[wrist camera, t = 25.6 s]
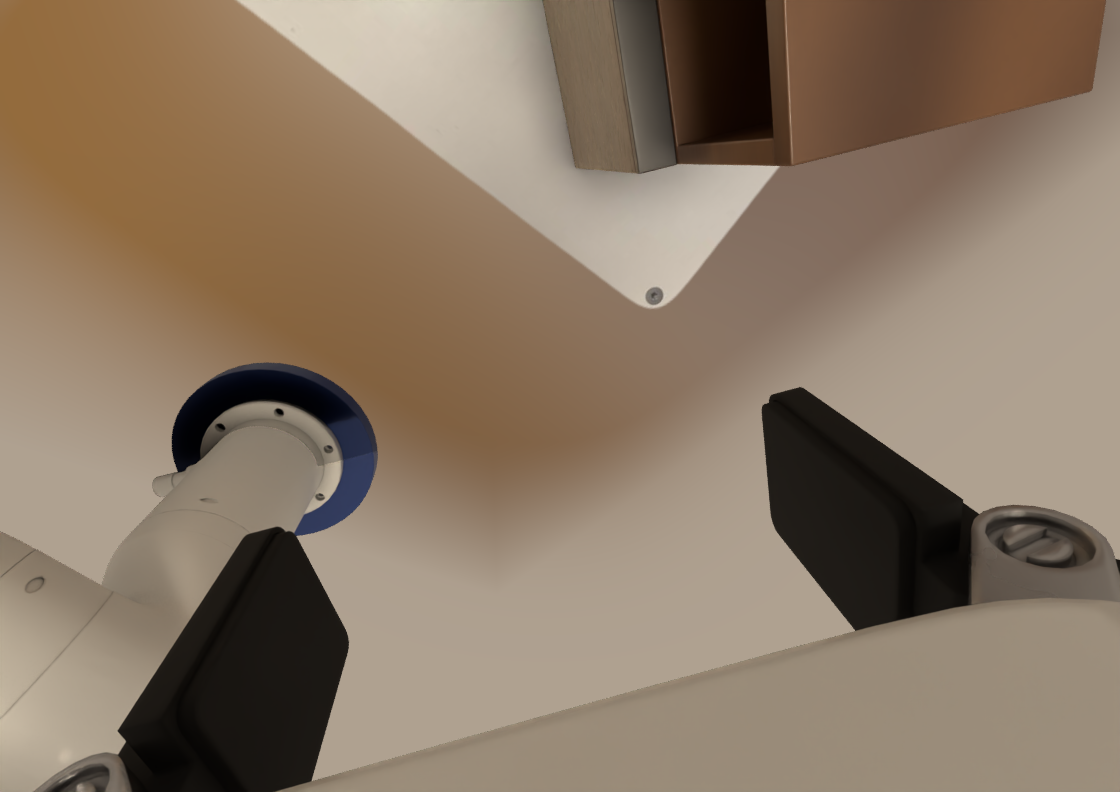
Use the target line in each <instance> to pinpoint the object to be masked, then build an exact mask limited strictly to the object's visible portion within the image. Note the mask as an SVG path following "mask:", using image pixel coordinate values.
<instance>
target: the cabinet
mask: <svg viewBox="0 0 1120 792" xmlns="http://www.w3.org/2000/svg"><path fill="white" fill-rule="evenodd" d="M543 5H544V10H545V15H546V20H547V25H548V30H549V36H550V41H551V46H552V51H553V56H554V61H555V66H556V71H557V76H558V81H559V86H560V91H561V96H562V102H563V107H564V112H565V117H566V122H567V127H568V132H569V137H570V142H571V147H572V152H573V157H574V162H575V167H576V168H580V169H592V170H604V171H616V172H628V173H637V174H641V173H645V172H649V171H653V170H657V169H661V168H665V167H669V166H673V165H676V164H702V165H763V166H794V165H798V164H803V163H807V162H810V161H814V160H819V159H823V158H826V157H831V156H835V155H839V154H842V153H847V152H850V151H855V150H859V149H863V148H867V147H871V146H875V145H879V144H883V143H887V142H891V141H895V140H899V139H903V138H907V137H910V136H915V135H919V134H923V133H927V132H931V131H934V130H939V129H942V128H947V127H951V126H955V125H958V124H963V123H967V122H971V121H974V120H979V119H983V118H987V117H991V116H995V115H999V114H1003V113H1007V112H1011V111H1015V110H1019V109H1023V108H1027V107H1031V106H1035V105H1039V104H1043V103H1047V102H1051V101H1055V100H1059V99H1063V98H1067V97H1071V96H1075V95H1079V94H1083V93H1087V92H1090V91H1091V90H1092V88H1093V82H1094V76H1095V69H1096V62H1097V56H1098V50H1099V43H1100V36H1101V30H1102V24H1103V17H1104V11H1105V5H1106V0H543Z"/></svg>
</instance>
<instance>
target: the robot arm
mask: <svg viewBox="0 0 1120 792" xmlns="http://www.w3.org/2000/svg"><path fill="white" fill-rule="evenodd" d="M280 409H282V410H283V411H281V410H280ZM762 421H763V432H764V441H765V442H764V443H765V455H766V465H767V477H768V488H769V500H770V511H771V518H772V522H773V524H774V527H775V529H776V531H777V533H778V534H779V535H780V537H781V538H782V539H783V540H784V542H785V543H786V544H787V545H788V547H789V548H790V549H791V550H792V551H793V553H794V554H795V555H796V557H797V558H798V559H799V560H800V562H801V563H802V564H803V565H804V567H805V568H806V569H807V571H808V572H809V573H810V574H811V576H812V577H813V578H814V579H815V581H816V582H817V583H818V584H819V585H820V587H821V588H822V589H823V591H824V592H825V593H826V594H827V596H828V597H829V598H830V599H831V601H832V602H833V603H834V604H835V606H836V607H837V608H838V609H839V611H840V612H841V613H842V614H843V616H844V617H845V618H846V619H847V621H848V622H849V623H850V624H851V625H852V627H853V628H854V629H855V631H854V632H850V633H847V634H843V635H839V636H835V637H832V638H828V639H824V640H820V641H816V642H812V643H808V644H804V645H800V646H797V647H793V648H789V649H785V650H782V651H778V652H775V653H771V654H767V655H763V656H760V657H756V658H753V659H749V660H745V661H742V662H738V663H734V664H730V665H727V666H723V667H720V668H716V669H712V670H708V671H705V672H701V673H697V674H694V675H690V676H687V677H682V678H679V679H675V680H671V681H668V682H664V683H660V684H657V685H653V686H650V687H646V688H642V689H638V690H635V691H631V692H628V693H624V694H620V695H617V696H613V697H610V698H606V699H602V700H599V701H595V702H592V703H588V704H584V705H581V706H577V707H574V708H570V709H566V710H563V711H559V712H556V713H552V714H549V715H545V716H541V717H538V718H534V719H531V720H527V721H524V722H520V723H517V724H513V725H509V726H505V727H502V728H498V729H495V730H491V731H487V732H484V733H480V734H477V735H473V736H470V737H466V738H463V739H459V740H455V741H452V742H448V743H445V744H441V745H438V746H434V747H431V748H427V749H424V750H420V751H416V752H413V753H410V754H406V755H402V756H399V757H395V758H392V759H388V760H385V761H381V762H378V763H375V764H371V765H367V766H364V767H360V768H357V769H354V770H350V771H346V772H343V773H339V774H336V775H332V776H329V777H325V778H322V779H318V780H315V781H311V780H312V777H313V773H314V770H315V766H316V763H317V759H318V756H319V752H320V749H321V745H322V741H323V738H324V735H325V731H326V727H327V724H328V720H329V717H330V713H331V710H332V706H333V703H334V699H335V696H336V692H337V688H338V685H339V681H340V678H341V674H342V671H343V667H344V664H345V660H346V657H347V653H348V648H349V647H348V646H349V641H348V635H347V632H346V629H345V628H344V626H343V624H342V622H341V620H340V618H339V616H338V614H337V612H336V611H335V609H334V607H333V605H332V603H331V601H330V599H329V597H328V595H327V593H326V592H325V590H324V588H323V586H322V584H321V582H320V580H319V578H318V576H317V575H316V573H315V571H314V569H313V567H312V565H311V563H310V561H309V559H308V558H307V556H306V554H305V552H304V550H303V548H302V546H301V544H300V542H299V540H298V539H297V537H296V535H295V534H294V532H295V530H296V528H297V527H298V525H299V523H300V521H301V519H302V517H303V515H304V514H306V513H309V512H312V511H313V510H315V509H317V508H319V507H320V506H322V505H323V504H324V503H325V502H326V501H327V500H329V498H330V497H331V496H332V494H333V493H334V492H335V490H336V488H337V486H338V484H339V482H340V479H341V476H342V473H343V456H342V450H341V448H340V445H339V442H338V440H337V438H336V437H335V435H334V434H333V432H332V431H331V429H330V428H329V427H328V426H327V425H326V424H325V423H324V422H323V421H322V420H321V419H319V418H318V417H317V416H315V415H314V414H313V413H311V412H309V411H308V410H306V409H304V408H302V407H300V406H297V405H294V404H291V403H288V402H284V401H279V400H270V399H258V400H252V401H246V402H243V403H240V404H237V405H235V406H233V407H231V408H229V409H228V410H226V411H224V412H223V413H222V414H221V415H220V416H218V417H217V418H216V419H215V420H214V421H213V423H212V424H211V425H210V426H209V427H208V428H207V431H206V433H205V435H204V437H203V439H202V444H201V449H200V454H201V459H200V460H199V461H198V462H197V463H196V464H193V465H190V466H188V467H187V469H186V471H182V472H174V473H171V474H167V475H163V476H159V477H156V478H155V479H154V480H153V484H152V486H153V490H154V492H155V494H156V495H157V496H159V497H165V496H166V497H165V498H164V499H163V500H162V501H161V502H160V503H159V504H158V505H157V506H156V507H155V508H154V509H153V510H152V512H150V514H149V515H148V516H147V517H146V518H145V519H144V520H143V521H142V522H141V523H140V524H139V525H138V526H137V527H136V528H135V529H134V530H133V531H132V532H131V533H130V534H129V535H128V536H127V537H126V539H125V540H124V541H123V542H122V543H121V544H120V545H119V547H118V548H117V550H116V551H115V553H114V554H113V556H112V558H111V560H110V562H109V564H108V567H107V569H106V572H105V575H104V578H103V581H102V585H100V584H98V583H96V582H94V581H93V580H91V579H89V578H87V577H85V576H84V575H82V574H80V573H78V572H77V571H75V570H73V569H71V568H69V567H68V566H66V565H64V564H62V563H61V562H58V561H57V560H55V559H53V558H52V557H50V556H48V555H46V554H44V553H43V552H41V551H39V550H36V549H34V548H32V547H31V546H29V545H27V544H25V543H23V542H22V541H20V540H17V539H16V538H14V537H11V536H9V535H7V534H5V533H3V532H1V531H0V792H1120V560H1117V559H1115V556H1114V553H1113V550H1112V548H1111V546H1110V544H1109V543H1108V541H1107V539H1106V538H1105V537H1104V536H1103V535H1102V534H1100V533H1099V532H1098V531H1097V530H1096V529H1094V528H1093V527H1092V526H1090V525H1088V524H1086V523H1084V522H1083V521H1081V520H1079V519H1077V518H1075V517H1073V516H1070V515H1067V514H1064V513H1061V512H1058V511H1055V510H1050V509H1046V508H1041V507H1036V506H1021V505H1009V506H1000V507H995V508H992V509H989V510H987V511H983V512H982V513H981V514H978V513H977V512H975V511H974V510H972V509H971V508H969V507H968V506H967V505H966V504H964V503H963V499H961V498H960V497H959V496H957V495H956V494H954V493H953V492H951V491H950V490H948V489H947V488H946V487H944V486H943V485H941V484H940V483H938V482H937V481H936V480H934V479H933V478H931V477H930V476H929V475H927V474H926V473H924V472H923V471H921V470H920V469H919V468H917V467H915V466H914V465H913V464H911V463H910V462H908V461H907V460H906V459H904V458H903V457H901V456H900V455H898V454H897V453H895V452H894V451H893V450H891V449H890V448H888V447H887V446H886V445H884V444H883V443H881V442H880V441H878V440H877V439H876V438H874V437H873V436H871V435H870V434H868V433H867V432H865V431H864V430H862V429H861V428H860V427H858V426H857V425H855V424H854V423H853V422H851V421H850V420H848V419H847V418H845V417H844V416H842V415H841V414H840V413H838V412H836V411H835V410H834V409H832V408H831V407H829V406H828V405H827V404H825V403H824V402H822V401H821V400H820V399H818V398H817V397H815V396H814V395H812V394H811V393H810V392H808V391H807V390H805V389H804V388H801V387H799V388H796V389H792V390H788V391H784V392H780V393H777V394H773V395H771V396H770V399H769V403H767V404H764V405H763V406H762ZM329 445H330V446H332V447H330V446H329Z"/></svg>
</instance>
